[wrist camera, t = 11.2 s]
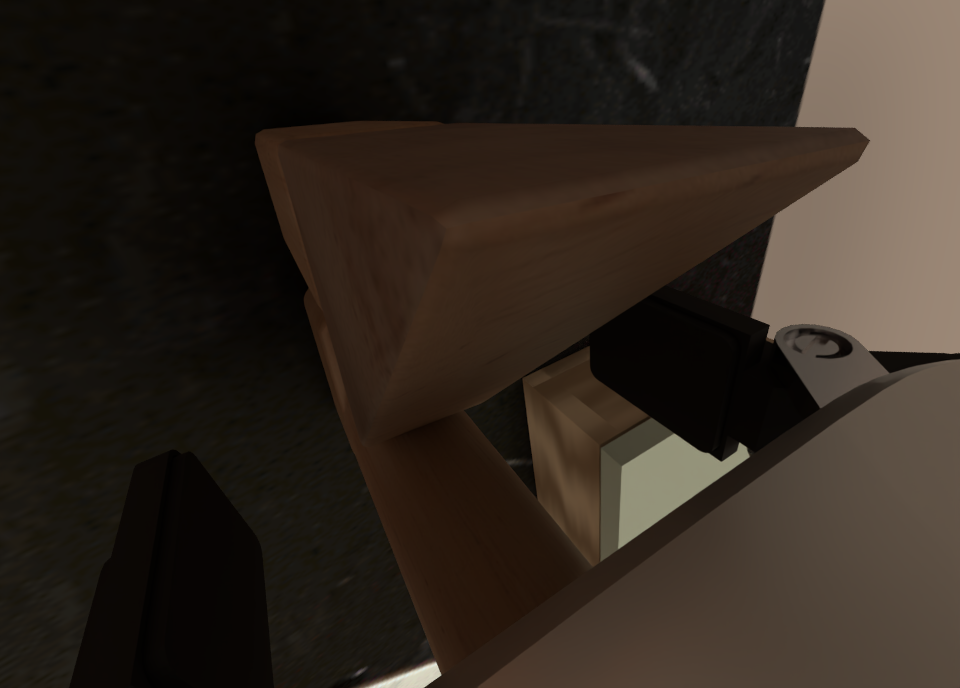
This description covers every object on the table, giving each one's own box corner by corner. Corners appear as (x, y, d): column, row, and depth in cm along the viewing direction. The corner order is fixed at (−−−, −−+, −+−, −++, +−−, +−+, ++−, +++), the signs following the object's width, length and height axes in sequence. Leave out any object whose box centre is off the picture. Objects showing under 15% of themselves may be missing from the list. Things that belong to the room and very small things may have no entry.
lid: (600, 448, 18) (699, 533, 14) (785, 338, 22) (898, 383, 18) (600, 642, 27) (657, 722, 24) (726, 542, 32) (792, 597, 28)
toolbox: (522, 378, 23) (599, 445, 18) (679, 302, 27) (775, 341, 22) (545, 560, 32) (599, 634, 28) (658, 485, 36) (721, 539, 32)
